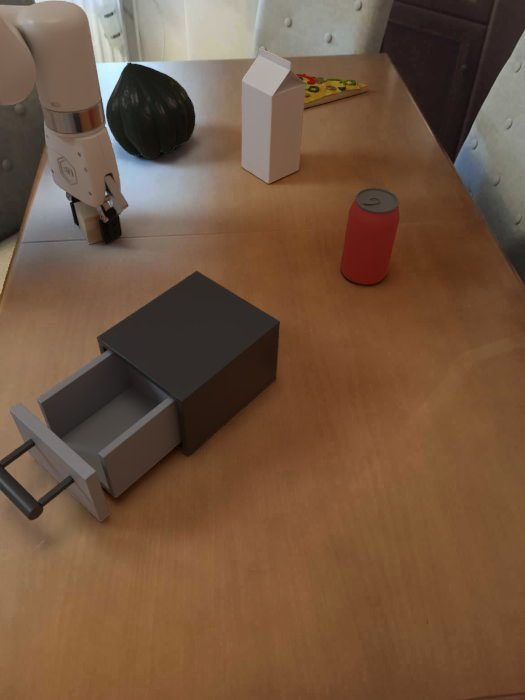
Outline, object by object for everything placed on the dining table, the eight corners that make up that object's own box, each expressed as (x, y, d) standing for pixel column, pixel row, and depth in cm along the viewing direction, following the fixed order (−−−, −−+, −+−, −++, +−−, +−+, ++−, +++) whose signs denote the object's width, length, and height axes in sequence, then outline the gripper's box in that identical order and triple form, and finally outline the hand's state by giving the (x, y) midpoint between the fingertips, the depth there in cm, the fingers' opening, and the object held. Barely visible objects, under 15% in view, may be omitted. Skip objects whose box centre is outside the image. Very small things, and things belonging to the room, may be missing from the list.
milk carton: (268, 185, 100) (273, 68, 86) (241, 167, 103) (241, 53, 90) (299, 171, 103) (308, 56, 89) (271, 154, 107) (276, 42, 93)
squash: (217, 130, 101) (181, 41, 98) (137, 157, 95) (96, 63, 92) (191, 154, 114) (158, 76, 111) (119, 179, 108) (83, 97, 105)
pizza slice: (264, 81, 128) (264, 66, 126) (357, 76, 131) (359, 62, 128) (278, 114, 117) (279, 99, 115) (379, 108, 120) (381, 93, 118)
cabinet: (188, 457, 63) (182, 401, 56) (111, 395, 69) (96, 337, 62) (276, 379, 71) (280, 321, 64) (200, 328, 76) (196, 270, 69)
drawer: (57, 560, 54) (36, 520, 49) (-13, 486, 59) (-40, 442, 54) (200, 435, 64) (196, 389, 59) (129, 380, 69) (120, 333, 63)
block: (89, 244, 88) (83, 218, 84) (79, 228, 90) (73, 202, 87) (118, 236, 89) (113, 210, 86) (108, 220, 92) (103, 195, 89)
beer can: (331, 263, 86) (342, 190, 77) (371, 253, 88) (385, 181, 79) (354, 291, 82) (367, 218, 73) (395, 280, 84) (413, 207, 75)
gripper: (9, 101, 78) (42, 218, 91) (93, 147, 71) (116, 266, 84) (57, 83, 82) (82, 198, 95) (141, 125, 75) (156, 242, 88)
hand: (98, 229), depth 89 cm, fingers closed on block, 5 cm apart
